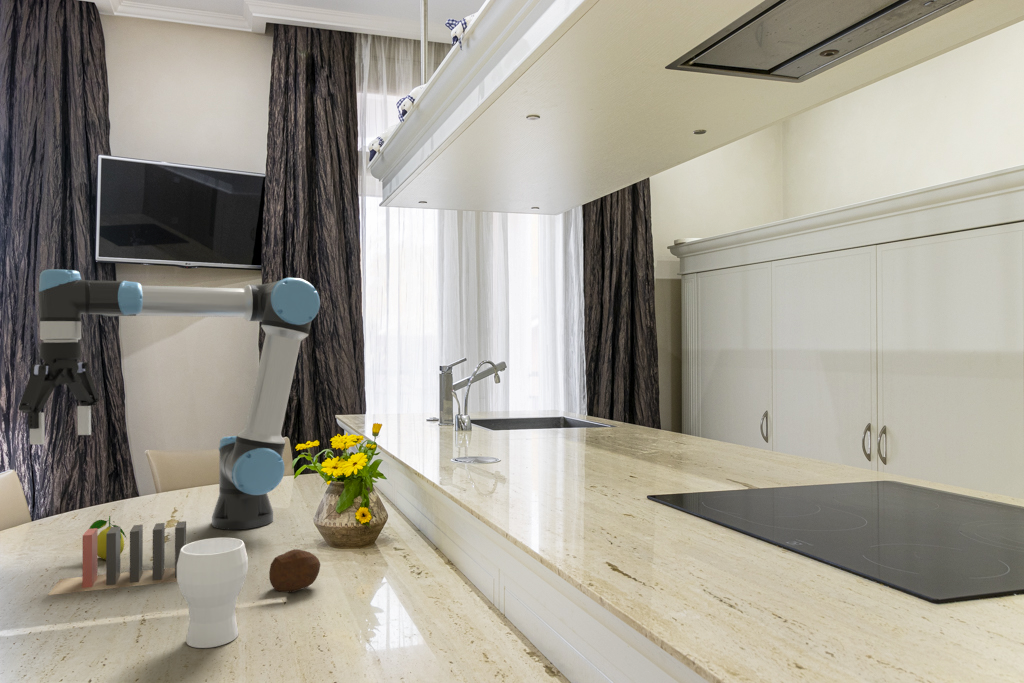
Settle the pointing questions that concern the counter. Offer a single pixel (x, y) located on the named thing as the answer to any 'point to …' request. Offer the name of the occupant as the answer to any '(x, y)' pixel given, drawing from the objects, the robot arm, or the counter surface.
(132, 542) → the domino
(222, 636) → the cup
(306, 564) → the potato
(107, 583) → the domino
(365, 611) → the counter surface
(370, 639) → the counter surface
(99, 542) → the lemon
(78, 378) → the robot arm
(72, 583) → the board
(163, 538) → the domino
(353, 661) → the counter surface
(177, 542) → the domino
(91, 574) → the domino
